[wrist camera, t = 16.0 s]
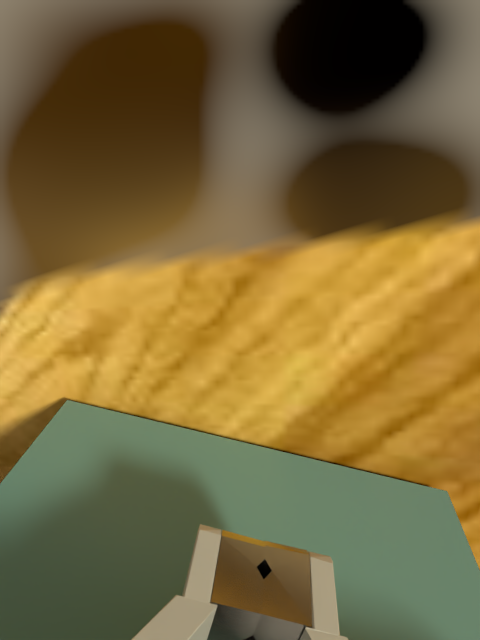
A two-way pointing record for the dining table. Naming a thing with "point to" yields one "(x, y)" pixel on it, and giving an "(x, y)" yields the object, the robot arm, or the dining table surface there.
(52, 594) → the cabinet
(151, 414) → the dining table surface
